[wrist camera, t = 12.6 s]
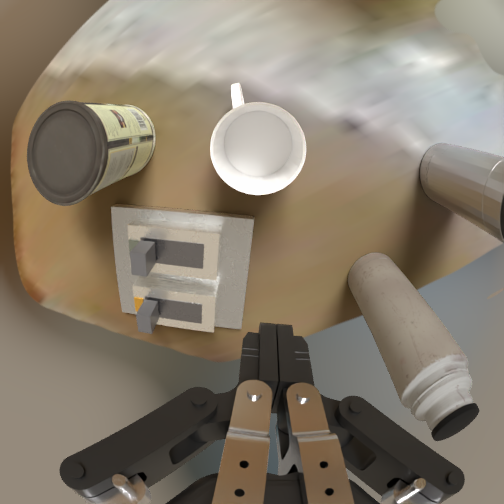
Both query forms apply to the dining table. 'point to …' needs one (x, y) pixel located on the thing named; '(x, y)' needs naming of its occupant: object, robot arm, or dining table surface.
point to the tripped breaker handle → (147, 316)
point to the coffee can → (87, 148)
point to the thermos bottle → (414, 346)
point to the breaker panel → (185, 264)
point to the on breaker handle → (143, 258)
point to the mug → (257, 146)
